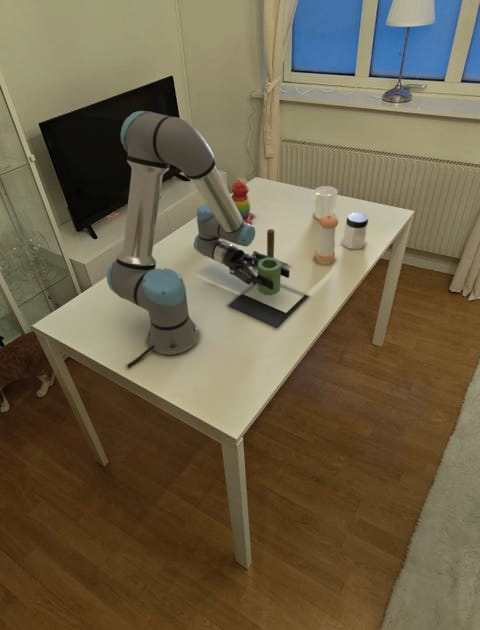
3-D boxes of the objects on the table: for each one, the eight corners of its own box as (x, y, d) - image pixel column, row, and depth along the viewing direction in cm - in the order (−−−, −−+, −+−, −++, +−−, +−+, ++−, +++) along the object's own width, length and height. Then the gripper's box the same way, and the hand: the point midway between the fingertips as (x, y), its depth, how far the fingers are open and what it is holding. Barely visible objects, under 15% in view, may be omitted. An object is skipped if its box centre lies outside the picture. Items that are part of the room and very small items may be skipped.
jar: (361, 251, 172) (366, 224, 165) (341, 247, 175) (344, 220, 167) (365, 240, 179) (370, 214, 171) (346, 237, 181) (349, 210, 174)
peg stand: (273, 279, 160) (274, 240, 150) (251, 270, 165) (251, 232, 154) (288, 266, 166) (290, 229, 155) (266, 258, 171) (267, 221, 160)
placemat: (276, 328, 139) (276, 327, 139) (228, 305, 149) (228, 304, 149) (308, 296, 151) (308, 296, 151) (261, 278, 161) (261, 277, 160)
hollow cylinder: (272, 297, 142) (272, 272, 136) (253, 290, 146) (253, 265, 140) (284, 286, 147) (285, 262, 140) (266, 279, 150) (266, 255, 144)
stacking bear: (249, 226, 191) (249, 188, 180) (227, 224, 193) (225, 186, 181) (254, 215, 199) (253, 177, 188) (232, 213, 201) (230, 176, 190)
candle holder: (309, 212, 199) (311, 188, 191) (328, 209, 201) (331, 184, 193) (318, 222, 192) (320, 197, 184) (338, 218, 194) (341, 193, 186)
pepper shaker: (325, 267, 165) (330, 221, 152) (311, 259, 169) (314, 214, 157) (337, 260, 168) (343, 215, 156) (323, 252, 173) (328, 208, 160)
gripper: (249, 252, 160) (299, 275, 148) (210, 277, 149) (260, 304, 137) (248, 235, 155) (300, 256, 143) (208, 259, 144) (260, 285, 132)
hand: (280, 279), depth 140 cm, fingers closed on hollow cylinder, 7 cm apart
